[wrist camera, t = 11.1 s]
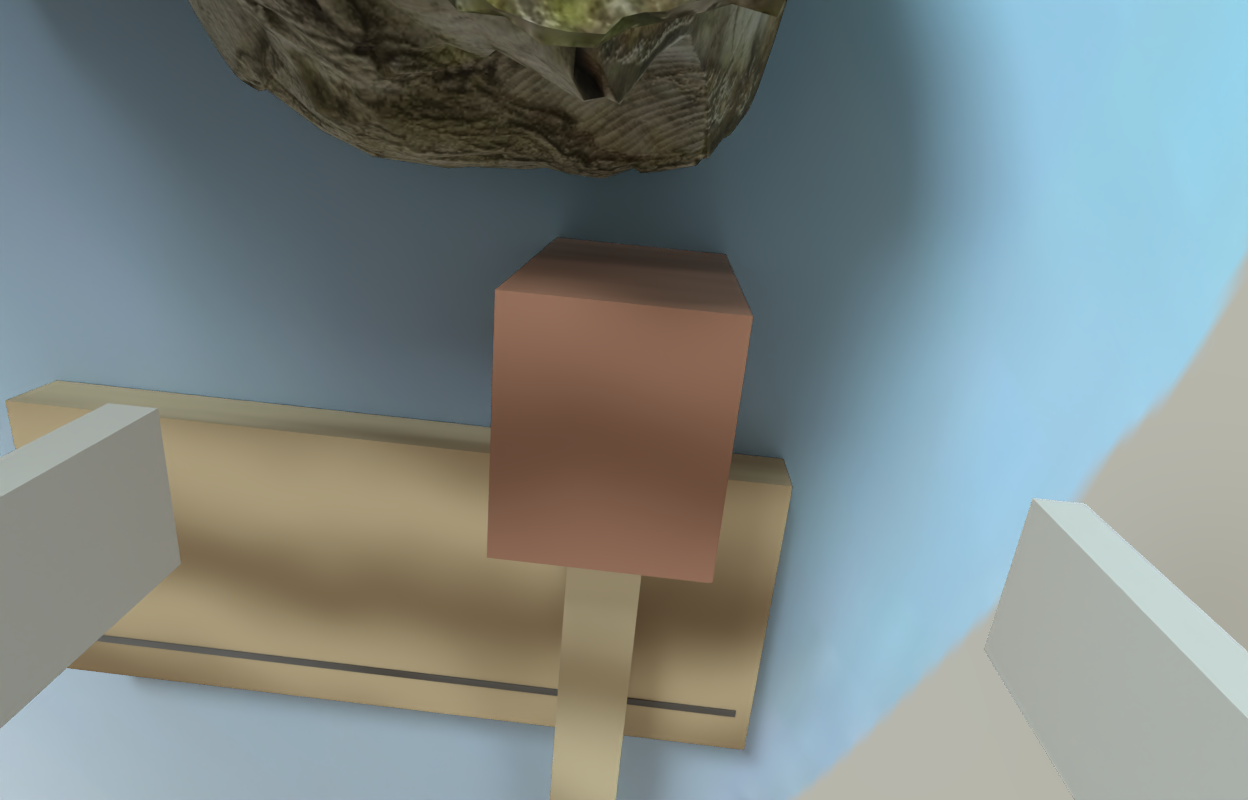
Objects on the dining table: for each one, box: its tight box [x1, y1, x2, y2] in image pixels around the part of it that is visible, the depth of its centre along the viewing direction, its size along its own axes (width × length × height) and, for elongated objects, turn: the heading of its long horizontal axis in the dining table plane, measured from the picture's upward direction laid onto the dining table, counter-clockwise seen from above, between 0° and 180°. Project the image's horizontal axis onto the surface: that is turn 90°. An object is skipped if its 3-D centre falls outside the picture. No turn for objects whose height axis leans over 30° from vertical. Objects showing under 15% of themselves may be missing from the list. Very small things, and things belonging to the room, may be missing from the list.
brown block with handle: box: [487, 237, 753, 800], centre depth 21 cm, size 16×5×8 cm, turn 175°
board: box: [5, 380, 793, 750], centre depth 25 cm, size 10×24×2 cm, turn 85°
